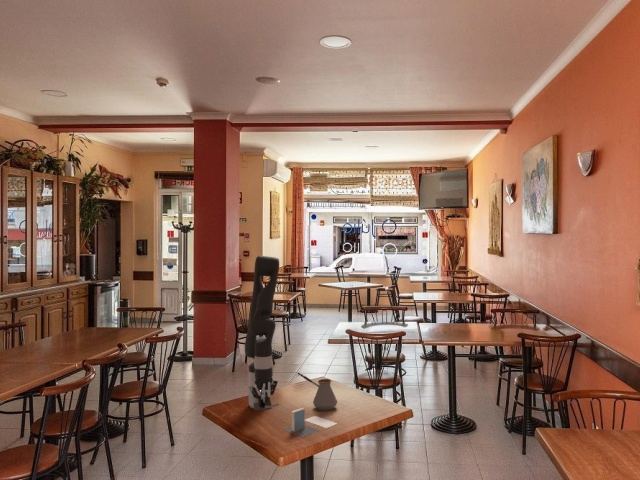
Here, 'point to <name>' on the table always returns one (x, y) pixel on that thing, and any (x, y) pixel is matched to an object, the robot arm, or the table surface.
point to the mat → (302, 431)
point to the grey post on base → (265, 405)
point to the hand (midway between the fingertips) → (264, 406)
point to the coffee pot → (323, 394)
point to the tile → (298, 419)
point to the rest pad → (320, 421)
